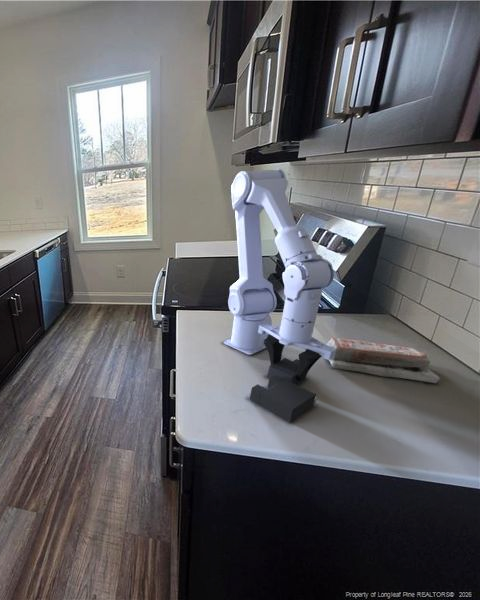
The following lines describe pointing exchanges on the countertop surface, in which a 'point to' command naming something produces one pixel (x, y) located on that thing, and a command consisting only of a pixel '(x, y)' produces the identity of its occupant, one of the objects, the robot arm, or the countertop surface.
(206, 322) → the countertop surface
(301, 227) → the robot arm
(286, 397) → the black pad
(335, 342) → the packaged product
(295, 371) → the graphite pad
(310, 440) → the countertop surface
